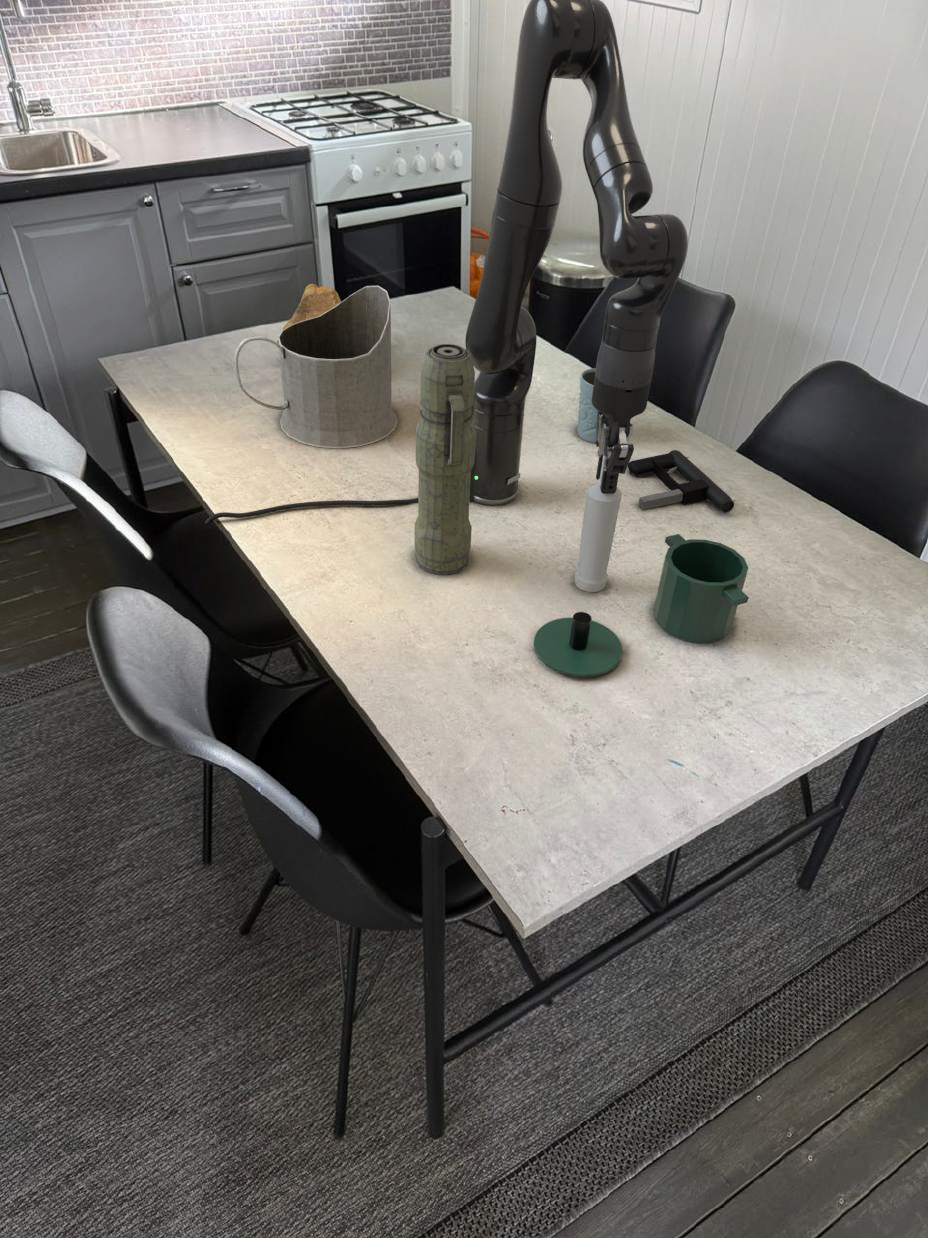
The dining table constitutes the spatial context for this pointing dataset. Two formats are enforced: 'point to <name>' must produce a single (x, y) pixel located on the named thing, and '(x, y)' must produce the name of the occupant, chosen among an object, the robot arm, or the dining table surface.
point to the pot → (699, 589)
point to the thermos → (445, 460)
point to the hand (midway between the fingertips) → (605, 485)
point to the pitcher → (337, 373)
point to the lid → (578, 646)
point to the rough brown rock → (314, 303)
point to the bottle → (596, 537)
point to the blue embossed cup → (587, 407)
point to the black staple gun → (685, 493)
